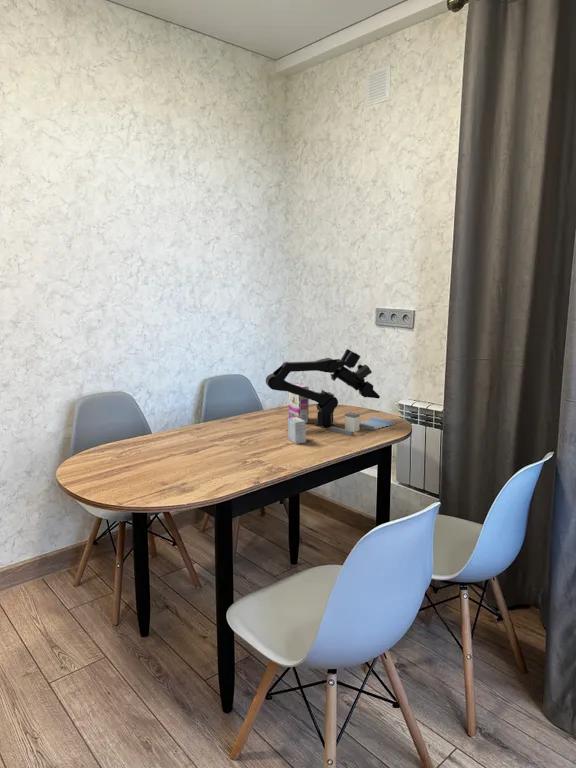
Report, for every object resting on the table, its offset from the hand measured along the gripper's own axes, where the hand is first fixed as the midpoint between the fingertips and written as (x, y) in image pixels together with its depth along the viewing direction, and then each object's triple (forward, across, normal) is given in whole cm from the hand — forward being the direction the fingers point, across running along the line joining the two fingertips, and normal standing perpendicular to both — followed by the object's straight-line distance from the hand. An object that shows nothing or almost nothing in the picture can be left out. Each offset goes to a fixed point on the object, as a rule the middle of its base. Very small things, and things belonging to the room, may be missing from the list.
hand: (376, 394), depth 233 cm
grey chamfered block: (-5, -12, +17) cm, 22 cm away
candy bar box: (-20, +8, +29) cm, 36 cm away
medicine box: (-27, -24, +31) cm, 47 cm away
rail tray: (0, -8, +14) cm, 17 cm away
